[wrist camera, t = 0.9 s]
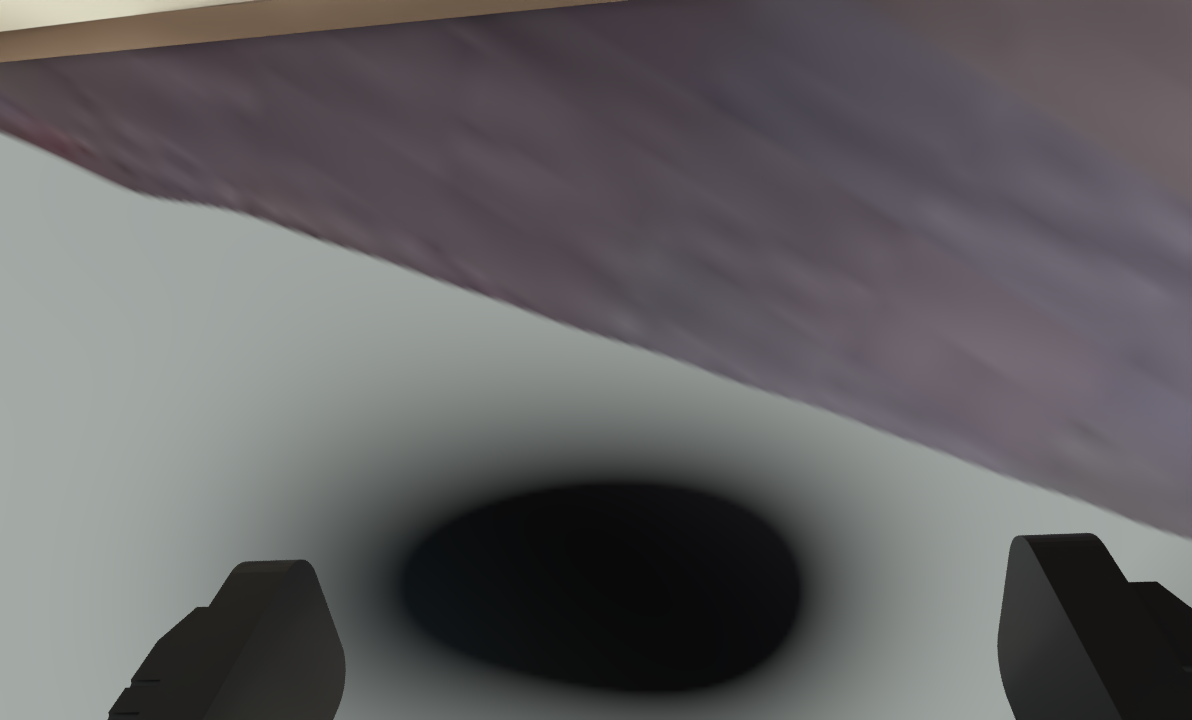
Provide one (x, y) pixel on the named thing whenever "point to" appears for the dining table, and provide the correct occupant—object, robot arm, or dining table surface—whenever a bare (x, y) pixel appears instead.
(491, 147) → the dining table surface
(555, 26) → the dining table surface
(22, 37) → the track
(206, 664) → the robot arm
